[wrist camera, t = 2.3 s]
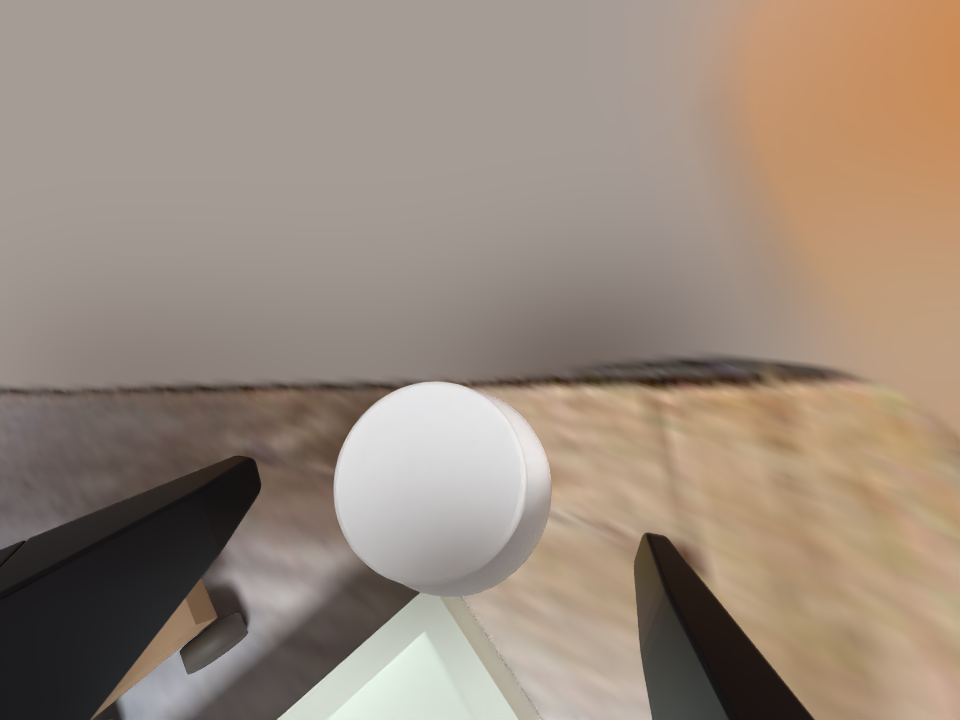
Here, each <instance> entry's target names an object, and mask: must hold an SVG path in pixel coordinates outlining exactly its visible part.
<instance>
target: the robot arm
mask: <svg viewBox="0 0 960 720" xmlns="http://www.w3.org/2000/svg"><path fill="white" fill-rule="evenodd" d="M260 489H261V481H260V477H259V473H258V469H257V465H256V462H255V460H254V459H252V458H249V457H244V456H234V457H231V458H228V459H226V460H224V461H221V462H219V463H216V464H214V465H211V466H209V467H206V468H204V469H201V470H199V471H196V472H194V473H191V474H189V475H186V476H184V477H181V478H179V479H176V480H174V481H171V482H169V483H166V484H164V485H161V486H159V487H156V488H154V489H151V490H149V491H146V492H144V493H141V494H139V495H136V496H134V497H131V498H129V499H126V500H124V501H121V502H119V503H116V504H114V505H111V506H109V507H106V508H104V509H101V510H99V511H96V512H94V513H91V514H89V515H86V516H84V517H81V518H79V519H76V520H74V521H71V522H69V523H66V524H64V525H61V526H59V527H56V528H54V529H51V530H49V531H46V532H44V533H41V534H39V535H36V536H34V537H31V538H29V539H28V540H27V541H21V542H19V543H16V544H14V545H11V546H9V547H6V548H4V549H1V550H0V720H91V719H92V718H93V716H94V715H95V714H96V712H97V711H98V710H99V709H100V707H101V706H102V705H103V703H104V702H105V701H106V700H107V698H108V697H109V696H110V694H111V693H112V692H113V691H114V689H115V688H116V687H117V685H118V684H119V683H120V682H121V680H122V679H123V678H124V676H125V675H126V674H127V673H128V671H129V670H130V669H131V667H132V666H133V665H134V664H135V662H136V661H137V660H138V658H139V657H140V656H141V655H142V653H143V652H144V651H145V649H146V648H147V647H148V646H149V644H150V643H151V642H152V640H153V639H154V638H155V637H156V635H157V634H158V633H159V631H160V630H161V629H162V628H163V626H164V625H165V624H166V622H167V621H168V620H169V619H170V617H171V616H172V615H173V613H174V612H175V611H176V610H177V608H178V607H179V606H180V604H181V603H182V602H183V601H184V599H185V598H186V597H187V595H188V594H189V593H190V592H191V590H192V589H193V588H194V586H195V585H196V584H197V583H198V581H199V580H200V579H201V577H202V576H203V575H204V574H205V572H206V571H207V570H208V568H209V567H210V566H211V565H212V563H213V562H214V561H215V559H216V558H217V557H218V555H219V554H220V552H221V551H222V550H223V548H224V547H225V545H226V544H227V542H228V541H229V539H230V538H231V536H232V534H233V533H234V531H235V530H236V528H237V527H238V525H239V524H240V522H241V521H242V519H243V518H244V516H245V514H246V513H247V511H248V510H249V508H250V507H251V505H252V504H253V502H254V501H255V499H256V498H257V496H258V494H259V492H260ZM634 577H635V590H636V602H637V615H638V628H639V640H640V651H641V658H642V664H643V670H644V676H645V681H646V687H647V692H648V698H649V704H650V709H651V715H652V720H815V719H814V718H813V717H812V716H811V714H810V713H809V712H808V711H807V709H806V708H805V707H804V706H803V705H802V703H801V702H800V701H799V700H798V698H797V697H796V696H795V695H794V693H793V692H792V691H791V690H790V688H789V687H788V686H787V685H786V684H785V682H784V681H783V680H782V679H781V677H780V676H779V675H778V674H777V672H776V671H775V670H774V669H773V667H772V666H771V665H770V664H769V663H768V661H767V660H766V659H765V658H764V656H763V655H762V654H761V653H760V651H759V650H758V649H757V648H756V646H755V645H754V644H753V643H752V642H751V640H750V639H749V638H748V637H747V635H746V634H745V633H744V632H743V630H742V629H741V628H740V627H739V625H738V624H737V623H736V622H735V621H734V619H733V618H732V617H731V616H730V614H729V613H728V612H727V611H726V609H725V608H724V607H723V606H722V604H721V603H720V602H719V601H718V600H717V598H716V597H715V596H714V595H713V593H712V592H711V591H710V590H709V588H708V587H707V586H706V585H705V583H704V582H703V581H702V580H701V579H700V577H699V576H698V575H697V574H696V572H695V571H694V570H693V569H692V567H691V566H690V565H689V564H688V562H687V561H686V560H685V559H684V558H683V556H682V555H681V554H680V553H679V551H678V550H677V549H676V548H675V546H674V545H673V544H672V543H671V541H670V540H669V539H668V538H667V537H665V536H663V535H658V534H653V533H644V535H643V536H642V539H641V542H640V545H639V548H638V551H637V554H636V557H635V562H634Z"/></svg>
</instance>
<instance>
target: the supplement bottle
mask: <svg viewBox="0 0 960 720" xmlns="http://www.w3.org/2000/svg"><path fill="white" fill-rule="evenodd" d="M551 491H552V486H551V475H550V468H549V464H548V460H547V457H546V454H545V452H544V449H543V447H542V444H541V442H540V441H539V439H538V437H537V435H536V434H535V432H534V431H533V429H532V428H531V426H530V425H529V424H528V422H527V421H526V420H525V419H524V418H523V417H522V416H521V415H520V414H519V413H518V412H517V411H516V410H515V409H514V408H512V407H511V406H509V405H508V404H507V403H505V402H503V401H502V400H500V399H498V398H496V397H494V396H492V395H489V394H487V393H484V392H481V391H477V390H472V389H470V388H467V387H465V386H462V385H459V384H454V383H449V382H422V383H416V384H412V385H409V386H406V387H403V388H400V389H398V390H396V391H393V392H391V393H390V394H388V395H386V396H384V397H383V398H381V399H380V400H378V401H377V402H376V403H375V404H373V405H372V406H371V407H370V408H369V409H368V410H367V411H366V412H365V413H364V414H363V415H362V416H361V417H360V418H359V420H358V421H357V422H356V423H355V425H354V426H353V428H352V429H351V431H350V432H349V434H348V436H347V438H346V440H345V442H344V444H343V446H342V448H341V451H340V453H339V457H338V460H337V464H336V468H335V476H334V487H333V492H334V504H335V511H336V515H337V518H338V522H339V525H340V528H341V530H342V533H343V535H344V537H345V538H346V540H347V542H348V544H349V545H350V547H351V548H352V550H353V551H354V553H355V554H356V555H357V556H358V557H359V558H360V559H361V560H362V561H363V562H364V563H365V564H366V565H367V566H368V567H370V568H371V569H372V570H374V571H375V572H377V573H378V574H380V575H382V576H384V577H386V578H388V579H390V580H393V581H395V582H398V583H401V584H403V585H405V586H407V587H409V588H411V589H413V590H416V591H418V592H421V593H425V594H429V595H434V596H441V597H460V596H467V595H472V594H475V593H479V592H482V591H484V590H487V589H489V588H492V587H494V586H495V585H497V584H499V583H501V582H502V581H504V580H505V579H506V578H508V577H509V576H510V575H511V574H513V573H514V572H515V571H516V570H517V569H518V568H519V567H520V566H521V565H522V564H523V563H524V562H525V561H526V560H527V558H528V557H529V556H530V555H531V553H532V552H533V550H534V549H535V547H536V545H537V544H538V542H539V540H540V538H541V536H542V533H543V531H544V528H545V526H546V523H547V519H548V516H549V511H550V505H551Z"/></svg>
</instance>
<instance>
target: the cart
mask: <svg viewBox="0 0 960 720" xmlns="http://www.w3.org/2000/svg"><path fill="white" fill-rule="evenodd" d="M216 618H217V615H216V612H215V610H214V607H213V605H212V603H211V600H210V598H209V595H208V593H207V590H206V588H205V586H204V583H203V581H202V578H201V579H200V580H199V581H198V583H197V584H196V585H195V586H194V588H193V589H192V590H191V592H190V593H189V594H188V595H187V597H186V598H185V599H184V601H183V602H182V603H181V604H180V606H179V607H178V608H177V610H176V611H175V612H174V613H173V615H172V616H171V617H170V619H169V620H168V621H167V622H166V624H165V625H164V626H163V628H162V629H161V630H160V631H159V633H158V634H157V635H156V637H155V638H154V639H153V640H152V642H151V643H150V644H149V646H148V647H147V648H146V649H145V651H144V652H143V653H142V655H141V656H140V657H139V658H138V660H137V661H136V662H135V664H134V665H133V666H132V667H131V669H130V670H129V671H128V673H127V674H126V675H125V676H124V678H123V679H122V680H121V682H120V683H119V684H118V685H117V687H116V688H115V689H114V691H113V692H112V693H111V694H110V696H109V697H108V698H107V700H106V701H105V702H104V703H103V705H102V706H101V707H100V709H99V710H98V711H97V712H96V714H95V715H94V716H93V718H95V717H96V716H97V715H98V714H100V713H101V712H102V711H103V710H104V709H106V708H107V707H108V706H109V705H111V704H112V703H113V702H114V701H115V700H117V699H118V698H119V697H120V696H122V695H123V694H124V693H125V692H127V691H128V690H129V689H130V688H131V687H133V686H134V685H135V684H136V683H138V682H139V681H140V680H141V679H143V678H144V677H145V676H146V675H147V674H149V673H150V672H151V671H152V670H154V669H155V668H156V667H157V666H158V665H160V664H161V663H162V662H163V661H165V660H166V659H167V658H168V657H170V656H171V655H172V654H173V653H174V652H176V651H177V650H178V649H179V648H181V647H182V646H183V645H184V644H185V643H187V642H188V641H189V640H190V639H192V638H193V637H194V636H195V635H197V634H198V633H199V632H200V631H201V630H203V629H204V628H205V627H206V626H208V625H209V624H210V623H211V622H212V621H214V620H215V619H216ZM247 634H248V631H247V629H246V626H245V624H244V622H243V619H242V617H241V615H240V613H235V614H232V615H230V616H227V617H225V618H224V619H222V620H220V621H218V622H216V623H215V624H213V625H212V626H210V627H208V628H207V629H205V630H204V631H202V632H201V633H200V634H198V635H197V636H195V637H194V638H193V639H192V640H190V641H189V642H188V643H187V644H186V645H185V646H184V647H183V648H182V649H181V650H180V655H181V657H182V660H183V663H184V666H185V668H186V671H187V674H192V673H194V672H196V671H198V670H200V669H202V668H203V667H205V666H207V665H208V664H210V663H212V662H213V661H215V660H216V659H218V658H219V657H221V656H222V655H223V654H225V653H226V652H227V651H229V650H230V649H231V648H233V647H234V646H235V645H236V644H238V643H239V642H240V641H241V640H242V639H243V638H244V637H245V636H246V635H247ZM93 718H92V719H93ZM92 719H91V720H92ZM108 720H113V719H108Z"/></svg>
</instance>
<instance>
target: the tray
mask: <svg viewBox="0 0 960 720" xmlns="http://www.w3.org/2000/svg"><path fill="white" fill-rule="evenodd" d="M277 720H542V719H541V717H540V716H539V714H538V713H537V711H536V710H535V708H534V707H533V705H532V704H531V702H530V701H529V699H528V698H527V696H526V695H525V693H524V692H523V690H522V689H521V687H520V686H519V684H518V683H517V681H516V680H515V678H514V677H513V675H512V674H511V672H510V671H509V669H508V668H507V666H506V665H505V663H504V662H503V660H502V659H501V657H500V655H499V654H498V652H497V651H496V649H495V648H494V646H493V645H492V643H491V642H490V640H489V639H488V637H487V636H486V634H485V633H484V631H483V630H482V628H481V627H480V625H479V624H478V622H477V621H476V619H475V618H474V616H473V615H472V613H471V612H470V610H469V609H468V607H467V606H466V604H465V603H464V601H463V600H462V598H461V597H441V596H434V595H429V594H425V593H421V592H420V593H419V594H418V595H417V596H416V597H415V598H414V599H412V600H411V601H410V602H409V603H408V604H407V605H406V606H405V607H403V608H402V609H401V610H400V611H399V612H398V613H397V614H396V615H394V616H393V617H392V618H391V619H390V620H389V621H388V622H387V623H385V624H384V625H383V626H382V627H381V628H380V629H379V630H377V631H376V632H375V633H374V634H373V635H372V636H371V637H370V638H368V639H367V640H366V641H365V642H364V643H363V644H362V645H361V646H359V647H358V648H357V649H356V650H355V651H354V652H353V653H352V654H350V655H349V656H348V657H347V658H346V659H345V660H344V661H343V662H341V663H340V664H339V665H338V666H337V667H336V668H335V669H334V670H332V671H331V672H330V673H329V674H328V675H327V676H326V677H325V678H323V679H322V680H321V681H320V682H319V683H318V684H317V685H315V686H314V687H313V688H312V689H311V690H310V691H309V692H308V693H306V694H305V695H304V696H303V697H302V698H301V699H300V700H299V701H297V702H296V703H295V704H294V705H293V706H292V707H291V708H290V709H288V710H287V711H286V712H285V713H284V714H283V715H282V716H281V717H279V718H278V719H277Z"/></svg>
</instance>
